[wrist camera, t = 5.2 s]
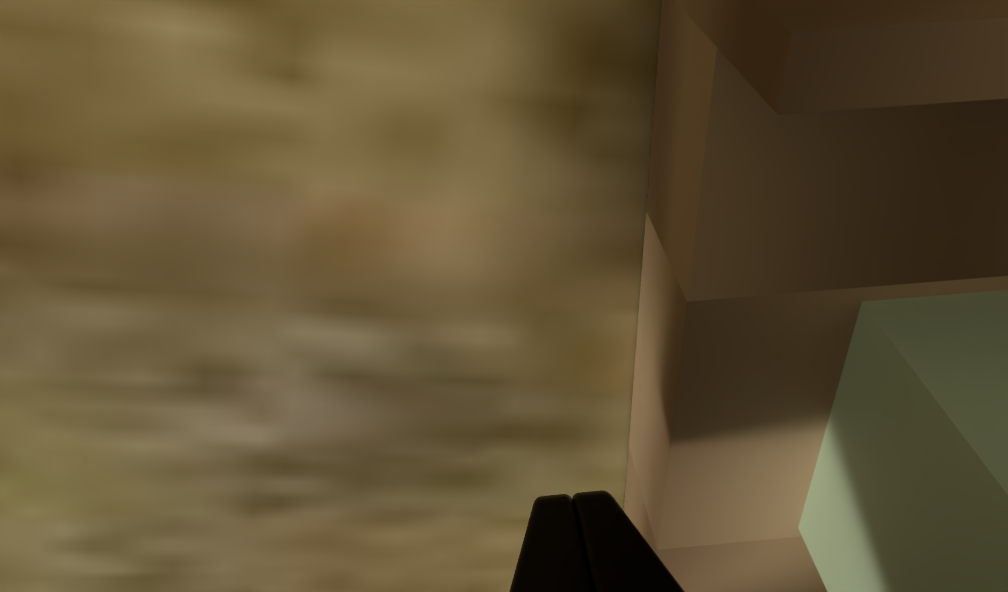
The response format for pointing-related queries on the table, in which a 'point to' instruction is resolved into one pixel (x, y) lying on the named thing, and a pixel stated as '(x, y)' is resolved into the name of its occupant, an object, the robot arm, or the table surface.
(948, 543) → the block
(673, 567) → the box
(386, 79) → the table surface
